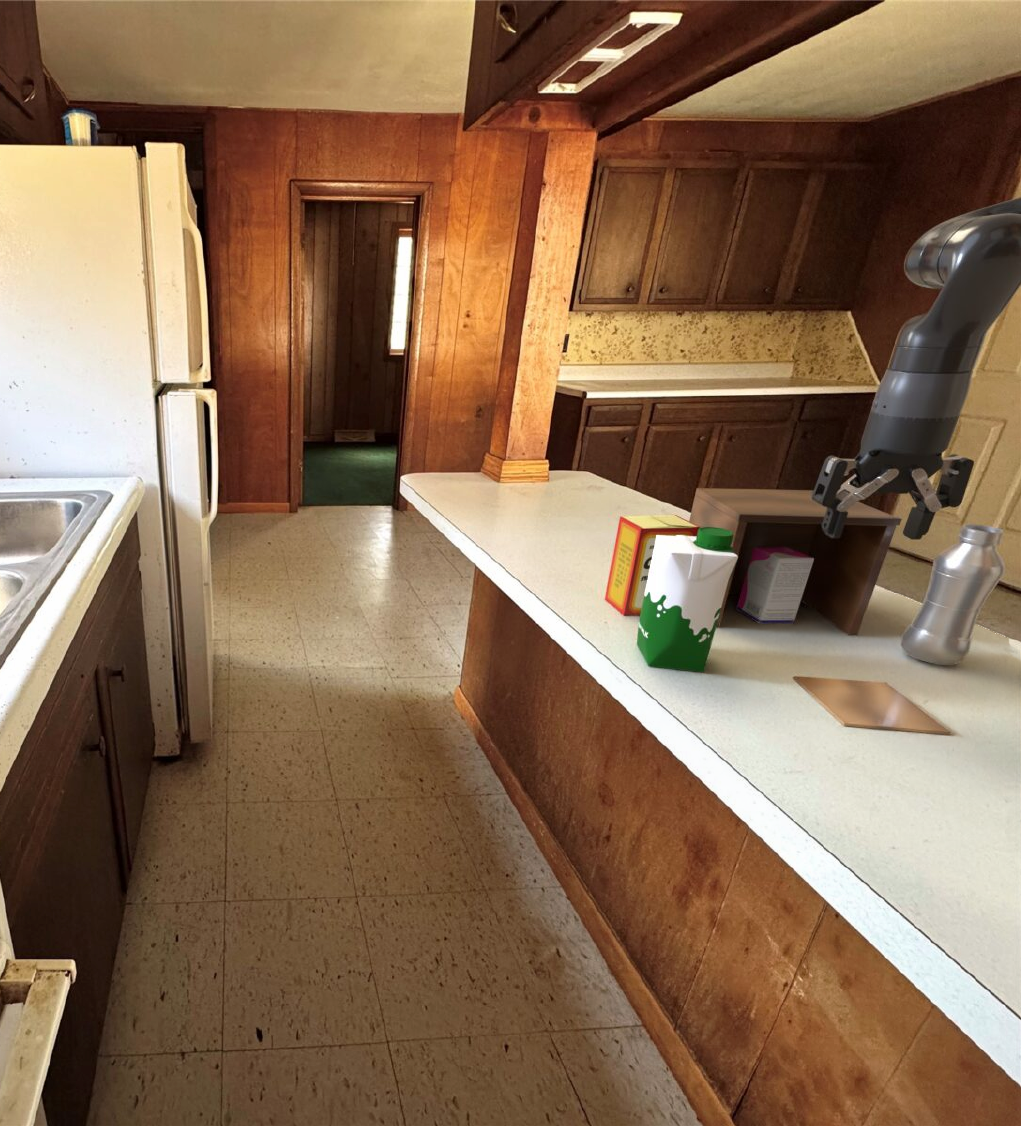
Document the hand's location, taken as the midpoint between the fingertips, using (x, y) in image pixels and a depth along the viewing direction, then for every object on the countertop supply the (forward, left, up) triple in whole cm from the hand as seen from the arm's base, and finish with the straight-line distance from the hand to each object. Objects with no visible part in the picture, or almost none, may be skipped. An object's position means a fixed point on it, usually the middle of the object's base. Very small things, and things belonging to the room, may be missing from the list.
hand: (870, 536), depth 79 cm
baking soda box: (+17, -20, -21) cm, 33 cm away
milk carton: (+19, -2, -21) cm, 28 cm away
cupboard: (-1, -21, -21) cm, 29 cm away
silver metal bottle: (-17, -7, -21) cm, 28 cm away
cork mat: (-1, +7, -21) cm, 22 cm away
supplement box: (-1, -19, -21) cm, 28 cm away
